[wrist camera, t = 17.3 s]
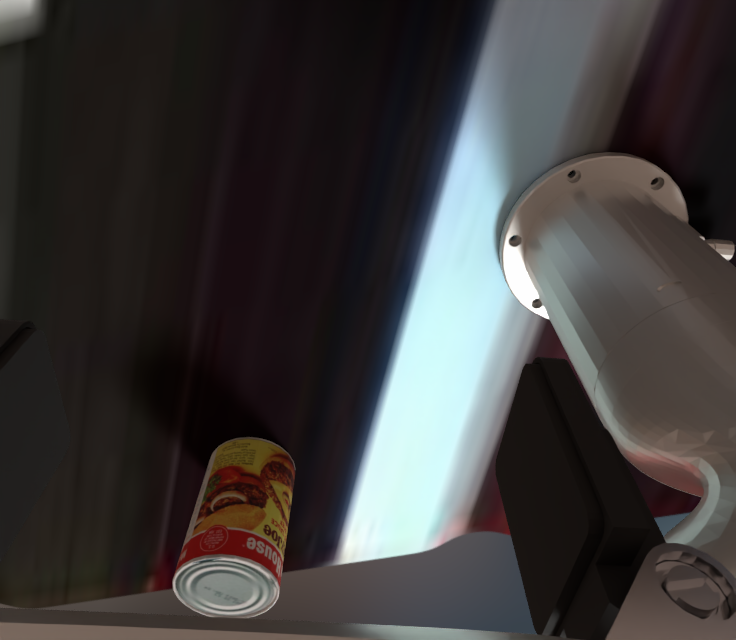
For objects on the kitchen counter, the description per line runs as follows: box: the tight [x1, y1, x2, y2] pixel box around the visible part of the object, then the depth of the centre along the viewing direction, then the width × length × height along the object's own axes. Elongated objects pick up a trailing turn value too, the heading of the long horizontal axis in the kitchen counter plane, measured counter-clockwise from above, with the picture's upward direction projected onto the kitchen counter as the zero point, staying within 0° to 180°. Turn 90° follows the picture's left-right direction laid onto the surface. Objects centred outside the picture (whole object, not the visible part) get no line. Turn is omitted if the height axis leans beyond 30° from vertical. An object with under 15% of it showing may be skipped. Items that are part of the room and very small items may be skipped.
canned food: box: [173, 437, 296, 618], centre depth 48 cm, size 8×8×12 cm
